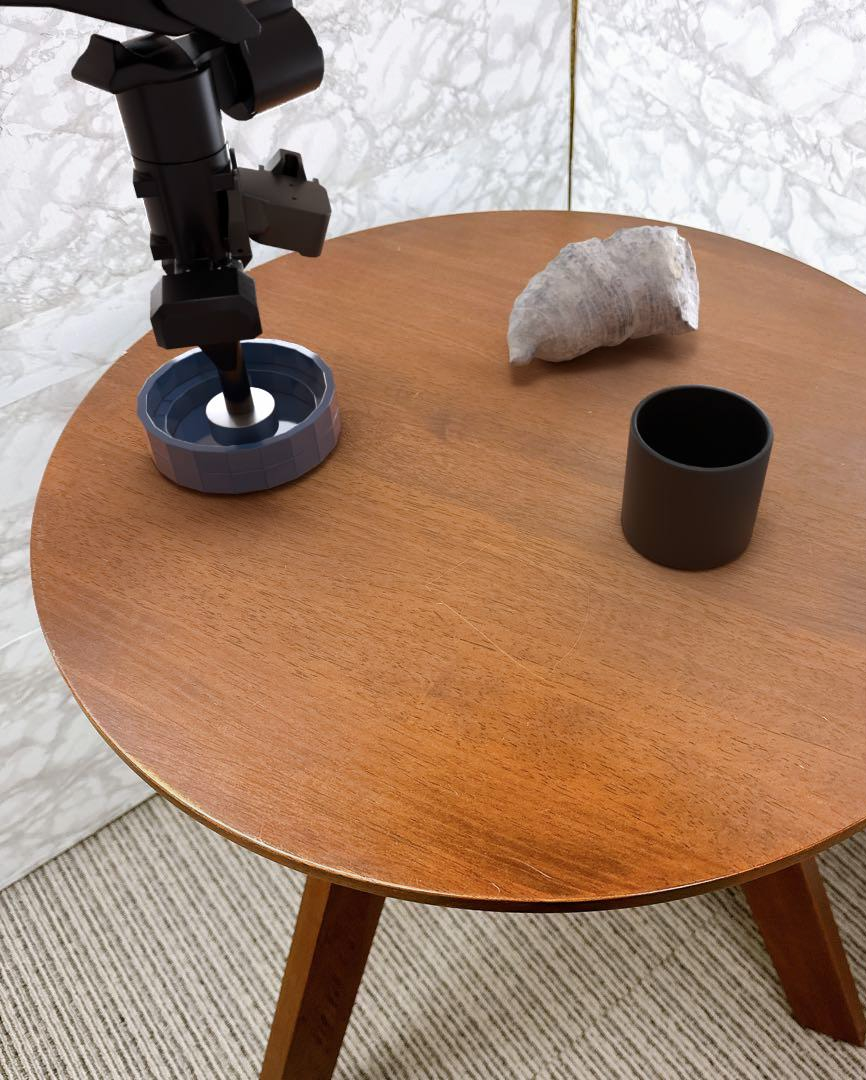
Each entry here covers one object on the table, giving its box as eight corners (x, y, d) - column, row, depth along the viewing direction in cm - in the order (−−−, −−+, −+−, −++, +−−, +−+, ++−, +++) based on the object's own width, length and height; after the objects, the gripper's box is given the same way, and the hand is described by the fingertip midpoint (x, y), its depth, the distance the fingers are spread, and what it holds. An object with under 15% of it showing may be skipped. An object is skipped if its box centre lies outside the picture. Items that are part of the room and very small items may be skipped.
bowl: (151, 513, 73) (134, 465, 70) (152, 397, 83) (138, 350, 80) (352, 482, 76) (345, 435, 73) (330, 374, 86) (323, 328, 83)
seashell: (502, 387, 85) (501, 279, 78) (523, 296, 95) (524, 194, 89) (696, 402, 84) (712, 294, 77) (695, 308, 94) (710, 206, 88)
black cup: (804, 522, 74) (832, 422, 67) (680, 592, 68) (697, 490, 62) (715, 454, 79) (732, 356, 73) (593, 514, 74) (601, 413, 68)
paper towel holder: (212, 453, 75) (177, 323, 67) (210, 413, 78) (177, 285, 70) (281, 443, 76) (255, 313, 68) (276, 404, 79) (251, 276, 71)
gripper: (329, 200, 57) (358, 423, 68) (299, 79, 70) (328, 283, 81) (119, 220, 55) (185, 448, 66) (129, 91, 68) (182, 299, 78)
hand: (228, 361), depth 73 cm, fingers closed on paper towel holder
